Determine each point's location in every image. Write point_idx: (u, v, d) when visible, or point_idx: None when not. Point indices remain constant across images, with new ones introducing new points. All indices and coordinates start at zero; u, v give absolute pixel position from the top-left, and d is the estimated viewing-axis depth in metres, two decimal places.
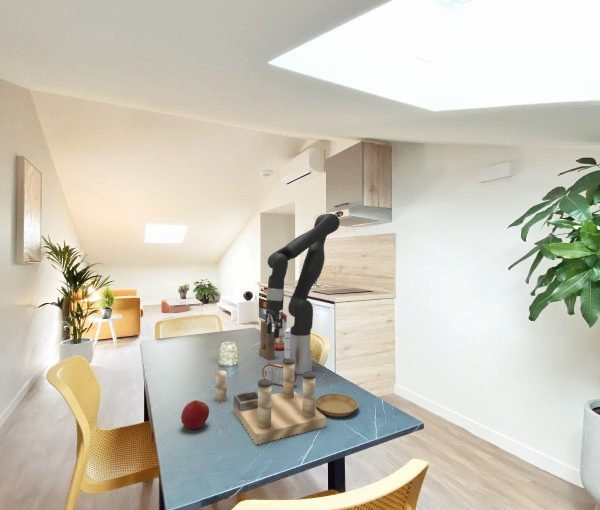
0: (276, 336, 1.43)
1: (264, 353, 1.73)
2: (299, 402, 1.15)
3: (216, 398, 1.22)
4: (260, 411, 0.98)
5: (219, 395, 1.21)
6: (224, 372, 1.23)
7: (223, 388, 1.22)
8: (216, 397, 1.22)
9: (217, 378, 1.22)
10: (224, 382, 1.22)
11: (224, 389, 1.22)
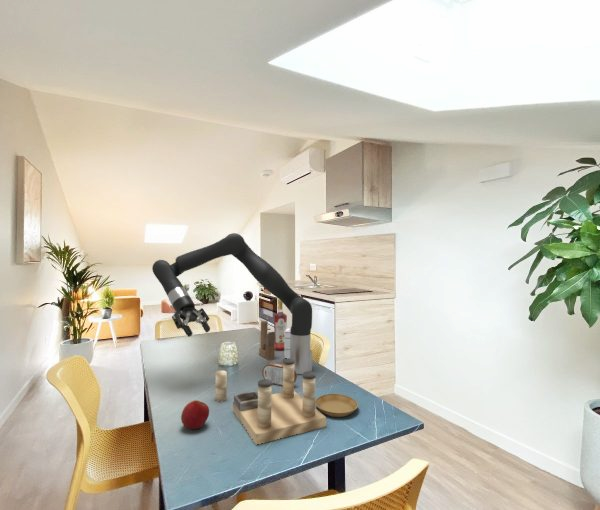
0: (187, 334, 1.26)
1: (264, 353, 1.73)
2: (299, 402, 1.15)
3: (216, 398, 1.22)
4: (260, 411, 0.98)
5: (219, 395, 1.21)
6: (224, 372, 1.23)
7: (223, 388, 1.22)
8: (216, 397, 1.22)
9: (217, 378, 1.22)
10: (224, 382, 1.22)
11: (224, 389, 1.22)
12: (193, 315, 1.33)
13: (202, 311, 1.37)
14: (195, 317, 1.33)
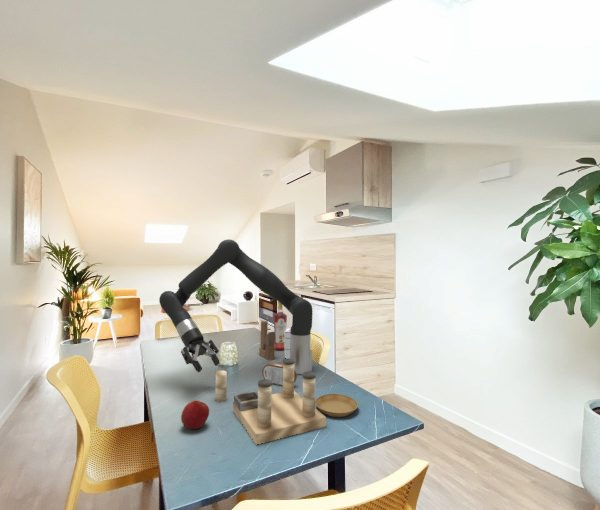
0: (197, 370, 1.23)
1: (264, 353, 1.73)
2: (299, 402, 1.15)
3: (216, 398, 1.22)
4: (260, 411, 0.98)
5: (219, 395, 1.21)
6: (224, 372, 1.23)
7: (223, 388, 1.22)
8: (216, 397, 1.22)
9: (217, 378, 1.22)
10: (224, 382, 1.22)
11: (224, 389, 1.22)
12: (202, 348, 1.30)
13: (211, 343, 1.34)
14: (204, 350, 1.30)
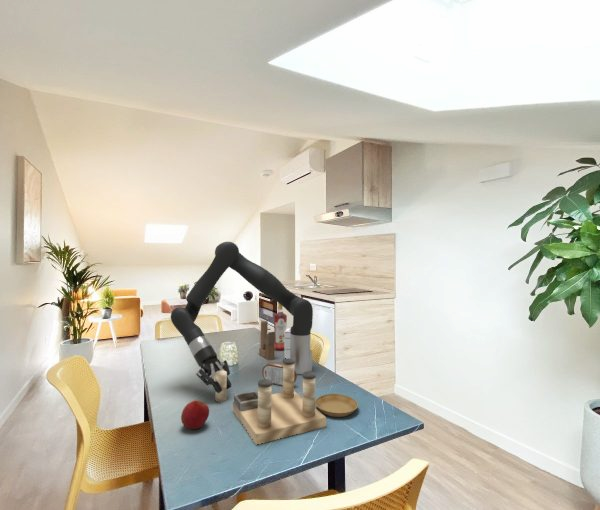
0: (217, 391, 1.20)
1: (264, 353, 1.73)
2: (299, 402, 1.15)
3: (216, 398, 1.22)
4: (260, 411, 0.98)
5: (219, 395, 1.21)
6: (224, 372, 1.23)
7: (223, 388, 1.22)
8: (216, 397, 1.22)
9: (217, 378, 1.22)
10: (224, 382, 1.22)
11: (224, 389, 1.22)
12: (214, 367, 1.25)
13: (225, 363, 1.29)
14: (216, 369, 1.25)
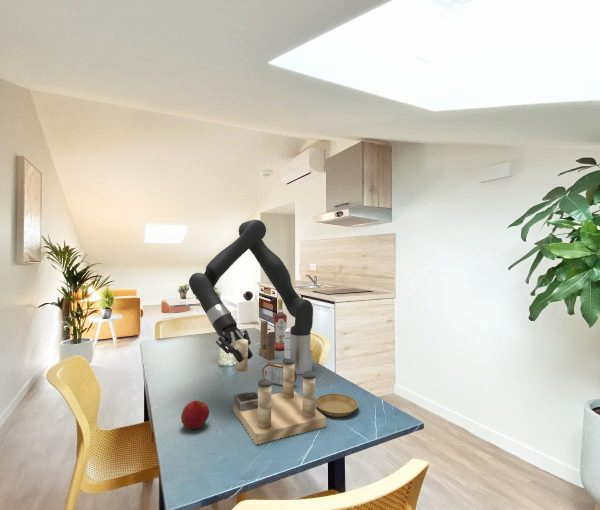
0: (238, 360, 1.12)
1: (264, 353, 1.73)
2: (299, 402, 1.15)
3: (237, 368, 1.14)
4: (260, 411, 0.98)
5: (241, 364, 1.13)
6: (245, 340, 1.15)
7: (245, 357, 1.14)
8: (237, 367, 1.14)
9: (238, 346, 1.13)
10: (245, 351, 1.14)
11: (245, 358, 1.14)
12: (235, 335, 1.17)
13: (245, 333, 1.21)
14: (236, 338, 1.17)
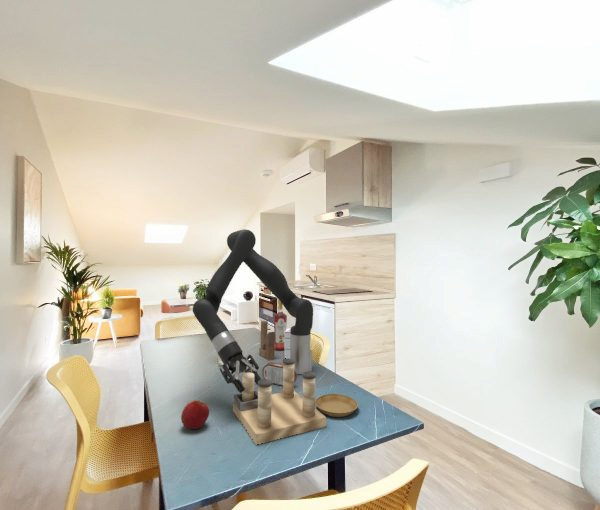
0: (239, 390, 1.08)
1: (264, 353, 1.73)
2: (299, 402, 1.15)
3: None
4: (260, 411, 0.98)
5: (247, 399, 1.11)
6: (252, 374, 1.13)
7: (251, 392, 1.11)
8: None
9: (244, 381, 1.11)
10: (252, 385, 1.12)
11: (252, 393, 1.12)
12: (242, 365, 1.15)
13: (250, 358, 1.20)
14: (244, 367, 1.15)
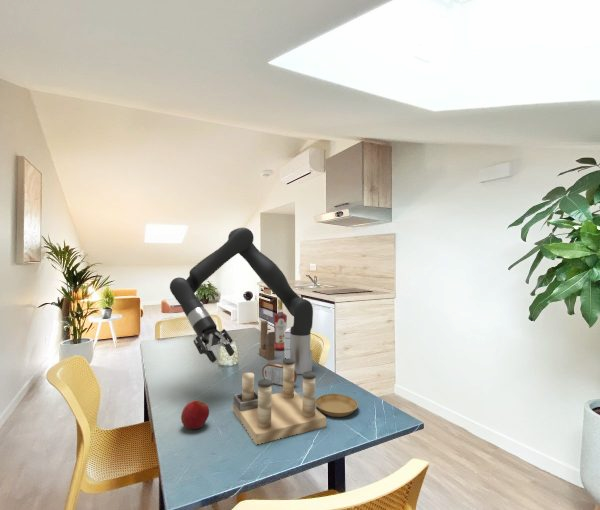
0: (211, 360, 1.15)
1: (264, 353, 1.73)
2: (299, 402, 1.15)
3: None
4: (260, 411, 0.98)
5: (247, 399, 1.11)
6: (251, 374, 1.13)
7: (251, 392, 1.12)
8: None
9: (244, 381, 1.11)
10: (252, 385, 1.12)
11: (252, 393, 1.12)
12: (216, 338, 1.22)
13: (224, 332, 1.27)
14: (218, 340, 1.22)
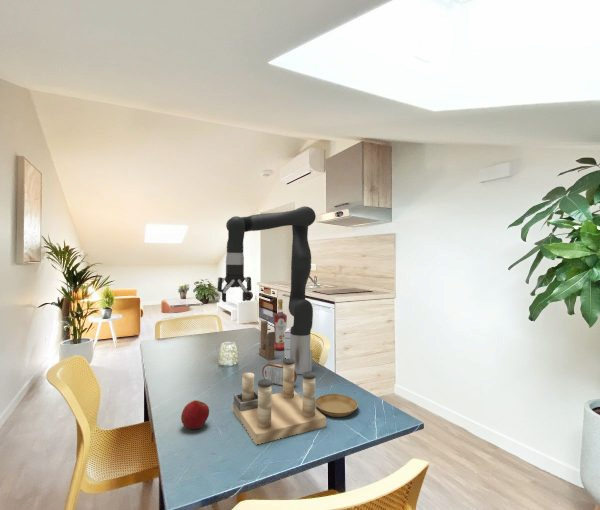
0: (222, 300, 1.42)
1: (264, 353, 1.73)
2: (299, 402, 1.15)
3: None
4: (260, 411, 0.98)
5: (247, 399, 1.11)
6: (251, 374, 1.13)
7: (251, 392, 1.12)
8: None
9: (244, 381, 1.11)
10: (252, 385, 1.12)
11: (252, 393, 1.12)
12: (236, 283, 1.43)
13: (248, 280, 1.45)
14: (237, 286, 1.43)
